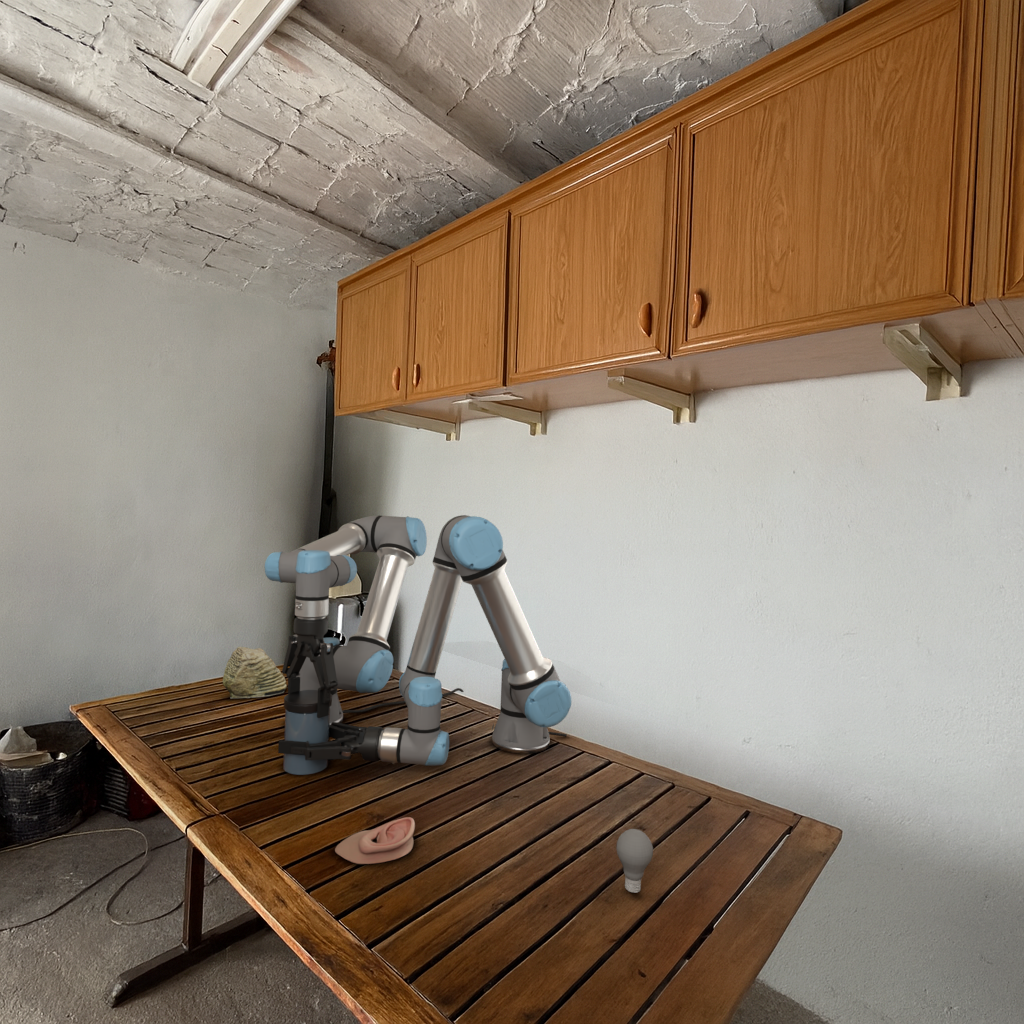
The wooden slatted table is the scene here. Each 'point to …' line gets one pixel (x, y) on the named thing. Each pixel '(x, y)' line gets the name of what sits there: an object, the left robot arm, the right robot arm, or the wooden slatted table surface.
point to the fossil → (252, 674)
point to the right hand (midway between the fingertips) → (289, 737)
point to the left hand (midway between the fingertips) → (307, 710)
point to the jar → (305, 730)
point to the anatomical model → (379, 843)
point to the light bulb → (634, 857)
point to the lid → (303, 701)
